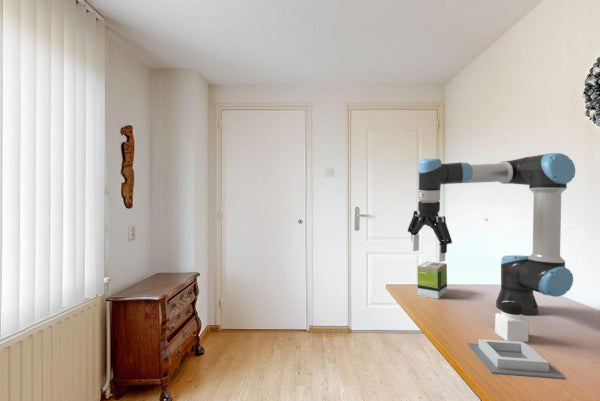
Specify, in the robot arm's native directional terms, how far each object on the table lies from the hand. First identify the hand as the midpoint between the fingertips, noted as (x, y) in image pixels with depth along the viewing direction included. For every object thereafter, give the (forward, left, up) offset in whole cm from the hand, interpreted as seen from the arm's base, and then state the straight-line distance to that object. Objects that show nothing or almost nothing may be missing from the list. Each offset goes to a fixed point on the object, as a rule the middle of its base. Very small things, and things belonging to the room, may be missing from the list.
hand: (427, 255), depth 126 cm
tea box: (-12, -40, -26) cm, 49 cm away
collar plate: (-17, +27, -26) cm, 41 cm away
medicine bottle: (-25, +10, -25) cm, 37 cm away
